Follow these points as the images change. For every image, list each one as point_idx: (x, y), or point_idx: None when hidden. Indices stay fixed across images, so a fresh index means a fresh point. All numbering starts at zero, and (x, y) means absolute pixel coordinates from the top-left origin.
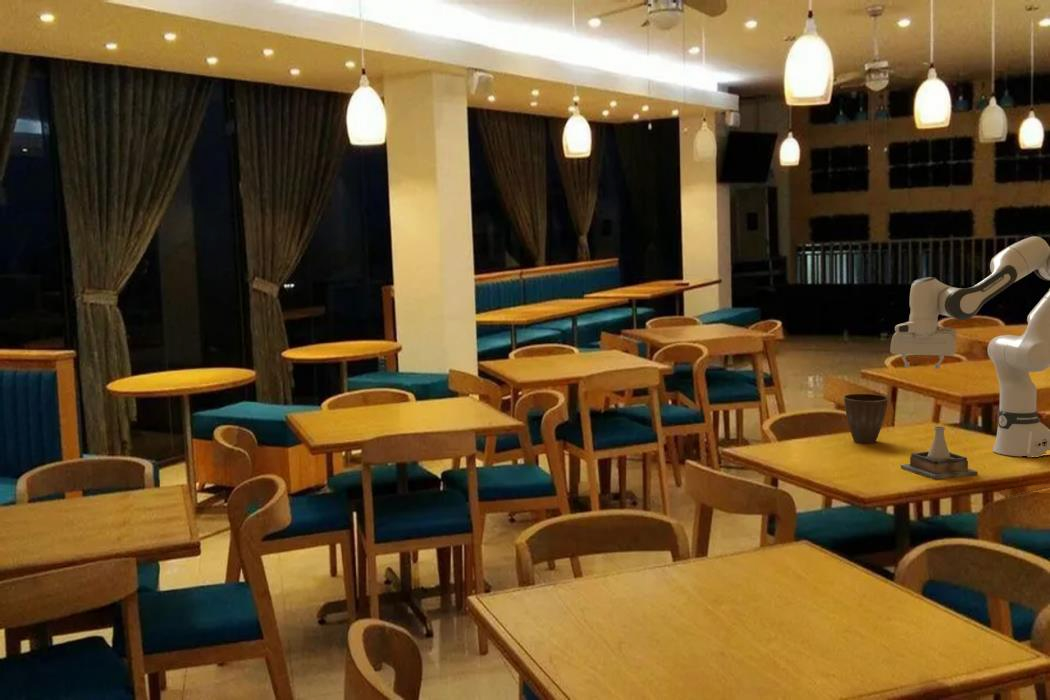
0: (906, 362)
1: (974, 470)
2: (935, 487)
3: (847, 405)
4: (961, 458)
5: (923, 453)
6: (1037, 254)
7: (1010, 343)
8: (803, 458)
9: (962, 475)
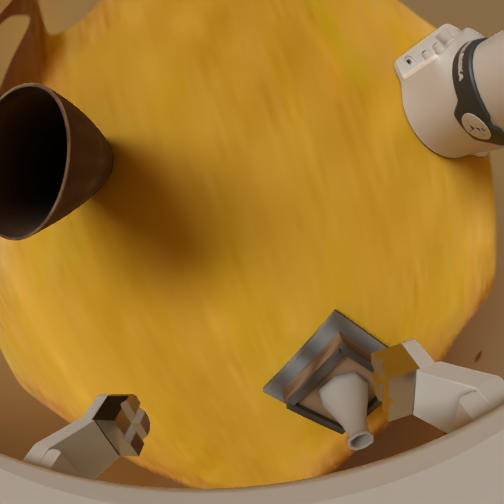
0: (117, 458)
1: None
2: (346, 454)
3: (2, 218)
4: None
5: (309, 389)
6: None
7: None
8: (83, 381)
9: None
